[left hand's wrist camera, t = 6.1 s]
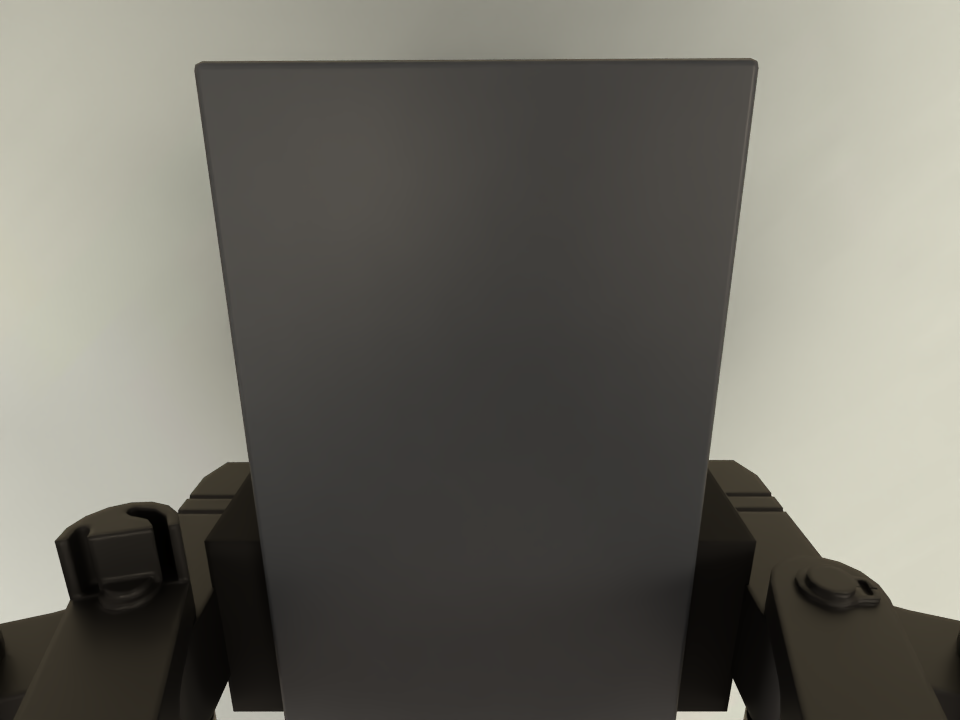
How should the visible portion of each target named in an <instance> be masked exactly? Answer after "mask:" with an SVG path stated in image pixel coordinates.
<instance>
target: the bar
mask: <svg viewBox="0 0 960 720" xmlns="http://www.w3.org/2000/svg"><path fill="white" fill-rule="evenodd" d="M757 75H758V62H757V61H756V60H753V59H751V58H698V59H530V60H361V61H202V62H200V63H198V64H196V65H195V78H196V85H197V92H198V99H199V107H200V114H201V121H202V128H203V135H204V142H205V150H206V157H207V164H208V171H209V178H210V185H211V193H212V200H213V207H214V214H215V221H216V228H217V236H218V243H219V250H220V257H221V264H222V271H223V279H224V286H225V293H226V300H227V307H228V314H229V322H230V329H231V336H232V343H233V350H234V357H235V365H236V372H237V379H238V386H239V393H240V400H241V408H242V415H243V422H244V429H245V436H246V443H247V451H248V458H249V465H250V472H251V479H252V486H253V494H254V501H255V508H256V515H257V522H258V529H259V537H260V544H261V551H262V558H263V565H264V572H265V580H266V587H267V594H268V601H269V608H270V615H271V623H272V630H273V637H274V644H275V651H276V658H277V666H278V673H279V680H280V687H281V694H282V701H283V709H284V716H285V720H676V714H677V706H678V698H679V690H680V682H681V674H682V666H683V658H684V651H685V643H686V635H687V627H688V619H689V611H690V603H691V595H692V587H693V580H694V572H695V564H696V556H697V548H698V540H699V532H700V524H701V516H702V509H703V501H704V493H705V485H706V477H707V469H708V461H709V453H710V445H711V438H712V430H713V422H714V414H715V406H716V398H717V390H718V382H719V375H720V367H721V359H722V351H723V343H724V335H725V327H726V319H727V311H728V304H729V296H730V288H731V280H732V272H733V264H734V256H735V248H736V240H737V233H738V225H739V217H740V209H741V201H742V193H743V185H744V177H745V169H746V162H747V154H748V146H749V138H750V130H751V122H752V114H753V106H754V99H755V91H756V83H757Z"/></svg>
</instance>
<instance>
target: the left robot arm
mask: <svg viewBox="0 0 960 720" xmlns="http://www.w3.org/2000/svg"><path fill="white" fill-rule="evenodd" d="M55 544H56V548H57V552H58V556H59V559H60V563H61V567H62V570H63V574H64V578H65V582H66V585H67V589H68V593H69V597H70V602H69V604H68V606H67V608H66V609H65V610H61V611H58V612H54V613H50V614H45V615H40V616H36V617H31V618H26V619H22V620H17V621H12V622H7V623H3V624H0V720H217V719H216V714H215V708H216V706H217V704H218V702H219V700H220V697H221V695H222V693H223V691H224V689H225V686H226V684H227V682H229V688H230V693H231V699H232V705H233V711H284V709H283V701H282V694H281V687H280V680H279V673H278V666H277V658H276V651H275V644H274V637H273V630H272V623H271V615H270V608H269V601H268V594H267V587H266V580H265V572H264V565H263V558H262V551H261V544H260V537H259V529H258V522H257V515H256V508H255V501H254V494H253V486H252V479H251V472H250V465H249V462H227V463H226V464H224V465H223V466H221V467H220V468H218V469H216V470H215V471H213V472H212V473H210V474H209V475H207V476H206V477H204V478H203V479H202V481H201V482H200V483H199V484H198V486H197V487H196V488H195V489H194V491H193V492H192V493H191V495H190V499H187V500H186V501H185V502H184V504H183V505H182V506H181V507H180V509H179V510H178V513H177V512H176V511H175V510H174V509H172V508H171V507H170V506H169V505H164V504H160V503H155V502H133V503H127V504H122V505H118V506H113V507H108V508H106V509H103V510H101V511H98V512H96V513H93V514H90V515H88V516H85V517H84V518H82V519H81V520H79V521H77V522H76V523H74V524H73V525H71V526H69V527H68V528H66V530H65V531H64V532H63V533H62V534H61V535H60V536H59V537H58V538H57V539H56V540H55ZM732 679H733V680H734V682H735V684H736V686H737V688H738V691H739V693H740V695H741V697H742V699H743V701H744V704H745V706H746V709H745V714H744V719H743V720H960V621H958V620H953V619H948V618H943V617H939V616H934V615H929V614H924V613H920V612H915V611H910V610H906V609H903V608H899V607H895V606H893V605H892V602H891V600H890V599H889V597H888V596H887V595H886V593H885V592H884V591H883V589H882V588H881V587H880V586H879V584H877V583H876V582H874V581H873V580H872V579H870V578H869V577H868V576H866V575H865V574H863V573H862V572H861V571H858V570H856V569H854V568H852V567H850V566H847V565H845V564H843V563H841V562H838V561H834V560H830V559H826V558H822V557H821V556H820V554H819V553H818V552H817V551H816V549H815V548H814V547H813V546H812V544H811V543H810V542H809V540H808V539H807V538H806V537H805V535H804V534H803V533H802V532H801V530H800V529H799V528H798V526H797V525H796V524H795V523H794V521H793V520H792V519H791V518H790V516H789V515H788V514H787V513H786V512H783V507H782V506H781V505H780V504H779V502H778V501H777V500H776V499H775V497H771V492H770V491H769V490H768V488H767V487H766V486H765V485H764V483H763V482H762V481H761V480H760V478H759V477H758V476H757V475H756V474H754V473H753V472H751V471H749V470H748V469H746V468H745V467H743V466H742V465H740V464H738V463H737V462H735V461H734V460H709V461H708V469H707V477H706V485H705V493H704V501H703V509H702V516H701V524H700V532H699V540H698V548H697V556H696V564H695V572H694V580H693V587H692V595H691V603H690V611H689V619H688V627H687V635H686V643H685V651H684V658H683V666H682V674H681V682H680V690H679V698H678V706H677V711H727V708H728V702H729V697H730V691H731V685H732Z"/></svg>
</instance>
